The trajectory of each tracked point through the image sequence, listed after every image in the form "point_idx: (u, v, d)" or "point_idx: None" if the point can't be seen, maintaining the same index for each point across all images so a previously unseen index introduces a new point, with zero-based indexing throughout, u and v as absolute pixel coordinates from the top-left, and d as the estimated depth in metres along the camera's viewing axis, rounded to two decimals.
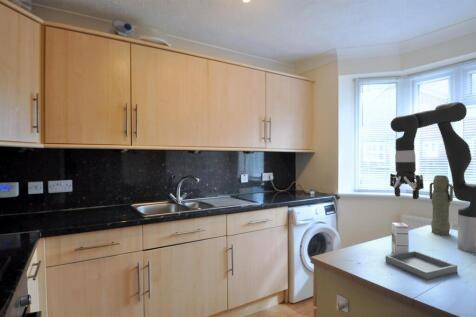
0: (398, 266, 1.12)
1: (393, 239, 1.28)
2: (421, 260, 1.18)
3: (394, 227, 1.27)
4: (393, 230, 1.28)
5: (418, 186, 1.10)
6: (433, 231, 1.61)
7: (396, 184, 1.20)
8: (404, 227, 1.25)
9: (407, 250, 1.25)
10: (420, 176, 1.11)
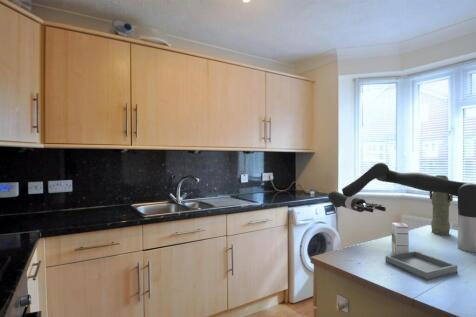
0: (398, 266, 1.12)
1: (393, 239, 1.28)
2: (421, 260, 1.18)
3: (394, 227, 1.27)
4: (393, 230, 1.28)
5: (360, 210, 1.42)
6: (433, 231, 1.61)
7: (375, 209, 1.45)
8: (404, 227, 1.25)
9: (407, 250, 1.25)
10: (354, 207, 1.46)
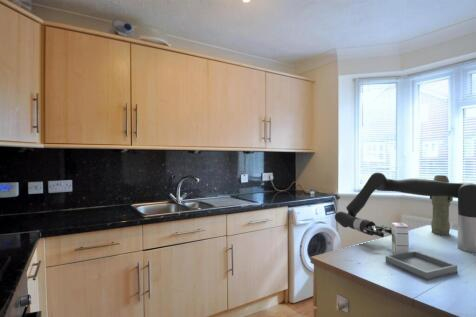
0: (398, 266, 1.12)
1: (393, 239, 1.28)
2: (421, 260, 1.18)
3: (394, 227, 1.27)
4: (393, 230, 1.28)
5: None
6: (433, 231, 1.61)
7: (385, 232, 1.40)
8: (404, 227, 1.25)
9: (407, 250, 1.25)
10: (363, 230, 1.40)
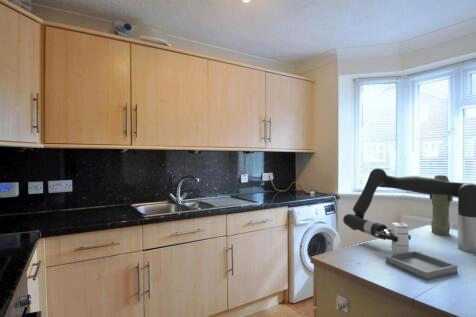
0: (398, 266, 1.12)
1: None
2: (421, 260, 1.18)
3: (394, 227, 1.27)
4: (393, 230, 1.28)
5: None
6: (433, 231, 1.61)
7: None
8: (404, 227, 1.25)
9: (407, 250, 1.25)
10: (375, 234, 1.33)
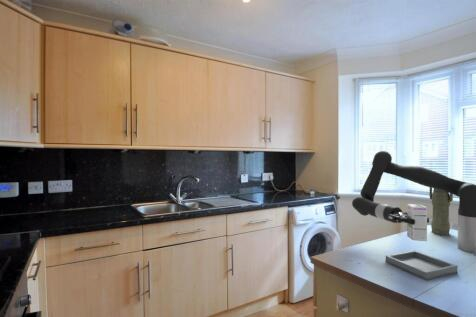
0: (398, 266, 1.12)
1: None
2: (421, 260, 1.18)
3: (410, 208, 1.13)
4: (409, 212, 1.15)
5: (397, 222, 1.16)
6: (433, 231, 1.61)
7: None
8: (422, 208, 1.11)
9: (425, 234, 1.11)
10: (389, 217, 1.19)
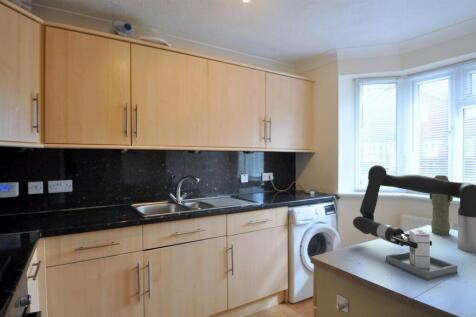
0: (398, 266, 1.12)
1: (411, 249, 1.13)
2: None
3: (413, 235, 1.12)
4: (411, 238, 1.13)
5: None
6: (433, 231, 1.61)
7: None
8: (425, 235, 1.10)
9: (428, 261, 1.10)
10: (391, 239, 1.18)
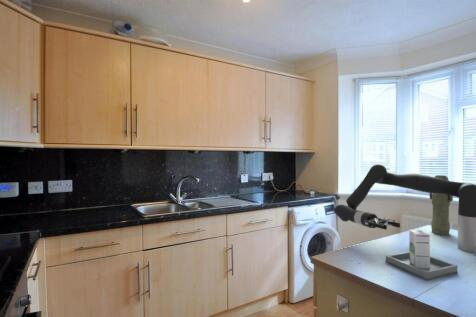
0: (398, 266, 1.12)
1: (411, 249, 1.13)
2: None
3: (413, 235, 1.12)
4: (411, 238, 1.13)
5: None
6: (433, 231, 1.61)
7: None
8: (425, 235, 1.10)
9: (428, 261, 1.10)
10: (365, 223, 1.32)
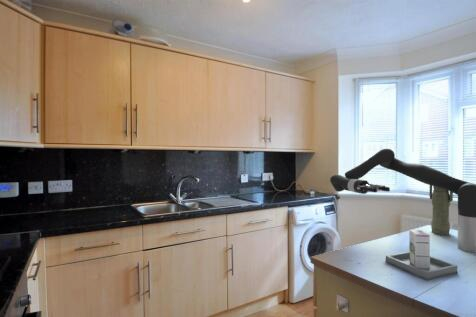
0: (398, 266, 1.12)
1: (411, 249, 1.13)
2: None
3: (413, 235, 1.12)
4: (411, 238, 1.13)
5: (363, 191, 1.37)
6: (433, 231, 1.61)
7: (379, 190, 1.41)
8: (425, 235, 1.10)
9: (428, 261, 1.10)
10: (357, 188, 1.41)
